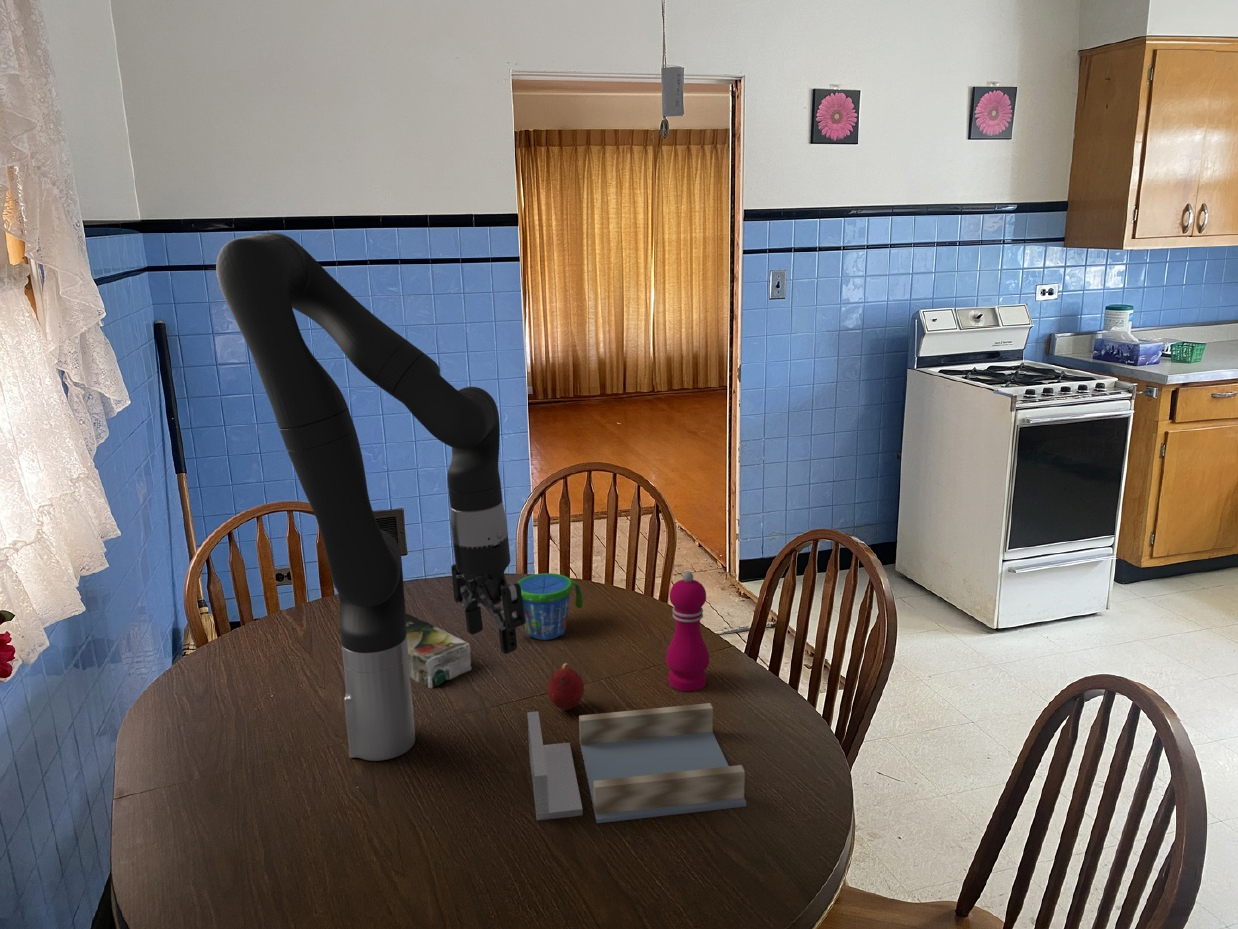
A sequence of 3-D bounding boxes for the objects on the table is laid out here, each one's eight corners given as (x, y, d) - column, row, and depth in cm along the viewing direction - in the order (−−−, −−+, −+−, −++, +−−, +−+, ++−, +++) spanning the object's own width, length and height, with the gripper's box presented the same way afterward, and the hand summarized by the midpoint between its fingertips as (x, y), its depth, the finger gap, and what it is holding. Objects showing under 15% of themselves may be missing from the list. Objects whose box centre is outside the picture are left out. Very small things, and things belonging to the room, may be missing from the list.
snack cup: (516, 652, 164) (513, 600, 161) (498, 630, 173) (495, 580, 170) (594, 635, 170) (593, 585, 167) (573, 614, 179) (571, 567, 177)
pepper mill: (660, 689, 150) (659, 577, 145) (674, 670, 156) (674, 561, 151) (701, 696, 147) (702, 582, 142) (714, 677, 154) (715, 567, 149)
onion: (579, 721, 140) (578, 674, 138) (544, 717, 142) (542, 671, 140) (588, 702, 146) (587, 657, 144) (554, 699, 147) (552, 654, 145)
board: (596, 823, 116) (596, 819, 116) (579, 739, 135) (578, 736, 135) (746, 806, 119) (746, 802, 119) (708, 726, 138) (708, 723, 138)
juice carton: (478, 671, 157) (475, 638, 156) (432, 693, 150) (429, 659, 149) (410, 640, 170) (407, 610, 169) (365, 659, 163) (361, 627, 162)
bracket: (582, 817, 118) (581, 771, 116) (536, 822, 117) (534, 776, 115) (569, 749, 133) (568, 708, 132) (529, 753, 132) (527, 712, 131)
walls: (595, 814, 117) (594, 787, 116) (579, 739, 134) (579, 715, 133) (744, 798, 120) (744, 771, 119) (709, 726, 137) (710, 703, 136)
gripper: (429, 530, 126) (442, 635, 130) (486, 555, 115) (498, 668, 120) (474, 516, 130) (486, 618, 135) (533, 538, 120) (543, 648, 125)
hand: (492, 641), depth 127 cm, fingers open, 8 cm apart
